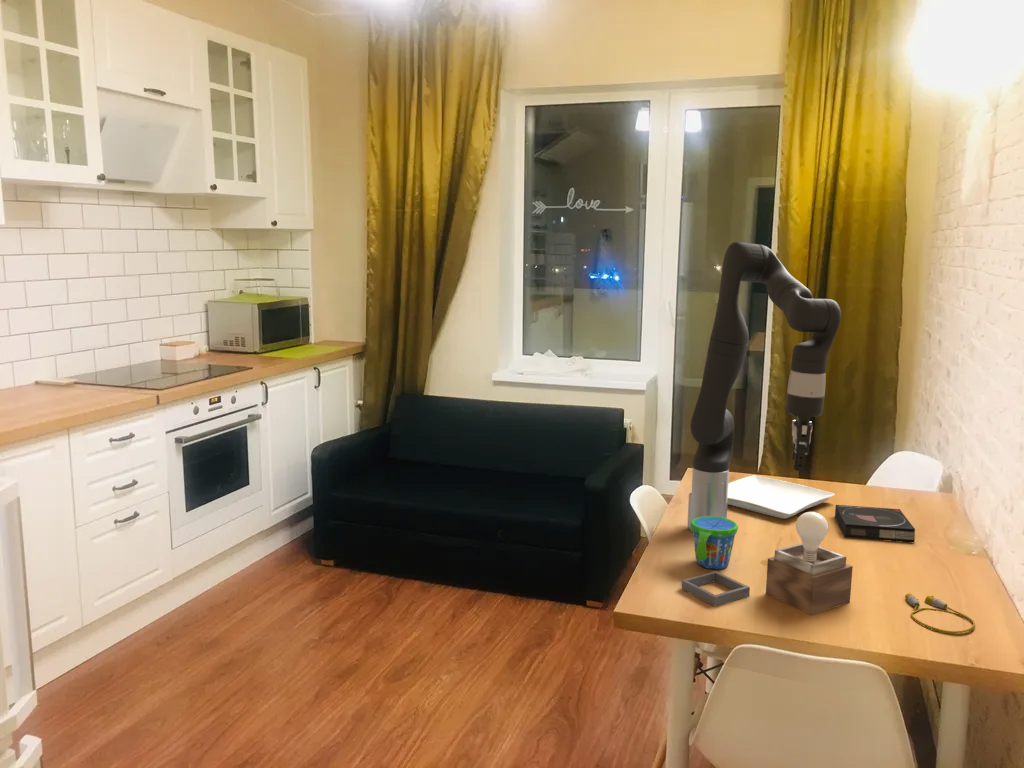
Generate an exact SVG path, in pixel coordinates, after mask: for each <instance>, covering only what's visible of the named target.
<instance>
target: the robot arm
mask: <svg viewBox="0 0 1024 768" xmlns="http://www.w3.org/2000/svg"><path fill="white" fill-rule="evenodd" d="M788 271H789V270H787V269H786V267H785V266H784V265H783V263H782V262H781V261H780V260H779V258H778V256H777V255H776V253H775V252H773V250H772V249H771V248H769V247H768V246H766V245H764V244H757V243H750V242H744V241H743V242H742V241H734V242H732V243H730V244H729V245H728V247H727V249H726V250H725V253H724V257H723V261H722V267H721V275H720V282H719V293H718V298H717V299H718V300H717V305H716V311H715V317H714V321H713V325H712V329H711V333H710V337H709V342H708V343H709V344H708V347H707V352H706V359H705V364H704V369H703V375H702V380H701V387H700V391H699V395H698V398H697V400H696V404H695V407H694V409H693V413H692V417H691V420H690V426H689V427H690V428H689V429H690V433H691V436H692V438H693V439H694V441H696V443H698V446H697V448H696V452H695V453H694V455H693V458H692V470H691V471H692V474H691V475H692V477H691V478H692V479H691V492H690V493H689V494H688V504H687V505H688V506H687V529H689V530H690V532H691V533H693V530H692V528H691V522H692V520H693V519H695V518H698V517H705V516H713V517H721V518H726V519H728V518H727V517H728V504H727V502H728V483H730V482H729V481H730V479H729V478H730V477H729V476H730V464H731V459H732V457H733V452H734V451H733V450H734V449H733V448H734V438H735V420H734V417H733V415H732V413H731V412H730V411H729V409H727V405H728V400H729V396H730V394H731V391H732V389H733V386H734V384H735V383H736V381H737V378H738V376H739V374H740V372H741V370H742V367H743V365H744V362H745V358H746V354H747V349H748V345H749V340H750V334H749V328H748V326H747V324H746V323H747V322H746V320H745V317H744V315H743V312H742V310H741V307H740V306H741V305H740V300H739V299H740V298H739V296H740V295H739V293H740V286H741V282H745V283H746V282H747V283H761V284H764V285H766V286H767V287H766V291H767V295H768V298H769V300H771V302H772V303H773V304H774V305H775V306H776V307H777V308H778V309H780V310H781V311H782V312H783V315H784V316H785V319H786V321H787V324H788V326H789V327H790V328H791V329H792V330H795V331H797V332H799V333H813V334H812V336H811V338H810V339H809V340H806V341H804V342H800V343H797V344H795V345H794V346H793V349H792V356H791V364H790V365H791V367H790V373H789V376H788V383H787V390H786V401H785V412H786V413H788V414H789V415H791V416H794V419H793V420H792V422H791V423H792V424H791V428H792V429H791V437H792V440H791V441H792V443H793V445H792V453H791V458H792V460H793V461H794V462H793V469H794V471H797V472H804V471H805V470H806V462H807V455H808V454H809V452H810V444H811V442H812V441H811V440H812V433H813V427H814V426H813V422H812V421H810V420H811V418H819V417H820V416H822V415H823V412H824V411H823V410H824V403H825V393H826V385H827V383H826V381H827V380H826V375H827V374H826V373H827V371H826V370H827V363H828V356H829V353H830V350H831V347H832V345H833V342H834V339H835V337H836V335H837V332H838V330H839V327H840V324H841V320H842V312H841V308H840V306H839V304H838V302H837V301H835V299H834V300H833V299H831V298H830V299H829V298H814V297H813V293H812V292H811V290H810V289H809V288H807V287H806V286H805V285H804V284H803V283H802V282H800V281H799V280H798V279H796V278H795V277H794V276H792V274H790V272H788Z"/></svg>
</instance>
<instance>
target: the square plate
mask: <svg viewBox="0 0 1024 768" xmlns="http://www.w3.org/2000/svg"><path fill="white" fill-rule="evenodd" d="M835 495H836V494H835V493H833V492H830V491H827V490H823V489H819V488H815V487H811V486H807V485H803V484H798V483H795V482H790V481H785V480H781V479H776V478H771V477H770V478H769V477H765V476H760V475H754V474H753V475H749V476H746V477H743V478H739V479H737V480H734V481H731V482H728V502H727V506H731V505H732V506H733V507H735V506H736V507H735V508H739V507H740V508H739V509H742V510H743V509H744V510H746V509H747V511H750V510H751V512H754V511H755V512H754V513H758V512H759V514H761V513H762V514H761V515H765V514H766V516H769V515H770V517H773V516H774V518H779V519H783V520H784V519H789V518H791V517H794V516H795V515H797V514H799V513H801V512H803V511H806V510H807V509H810V508H813V507H815V506H818V505H820V504H823V503H824V502H826V501H828V500H829V499H831V497H833V496H835ZM732 506H731V507H732Z"/></svg>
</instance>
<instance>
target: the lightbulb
mask: <svg viewBox="0 0 1024 768" xmlns="http://www.w3.org/2000/svg"><path fill="white" fill-rule="evenodd" d="M795 529H796V533H797V535H798V536H799V538H800V540H801V543H802V545H803V548H804V552H803V553H804V554H803V555H804V556H803V559H804V560H805V561H807V562H810V563H813V562H815V561H816V558H817V557H816V556H817V550H818V548H819V546H820V545H821V543H822V541H823V540H824V539H825V537H826V536H827V535H828V532H829V524H828V521H827V519H826V518H825V516H823V515H822V514H821V513H818V512H815V511H807V512H804V513H802V514H801V515H799V517H798V518H797V519H796V523H795Z"/></svg>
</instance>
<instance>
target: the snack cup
mask: <svg viewBox="0 0 1024 768" xmlns="http://www.w3.org/2000/svg"><path fill="white" fill-rule="evenodd" d="M691 528H692V530H693V532H692V537H693V543H694V552H695V560H696V563H697V564H698V565H700V566H701V567H703V568H705V569H713V570H718V569H719V570H720V569H721V570H722V569H725V568H726V567H728V565H729V564H730V560H731V557H732V551H733V548H734V543H735V537H736V534H737V532H738V529H739V525H738V523H737V522H735V521H734V520H731V519H729V518H727V519H726V518H721V517H713V516H705V517H698V518H695V519H693V520H692V522H691Z"/></svg>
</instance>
